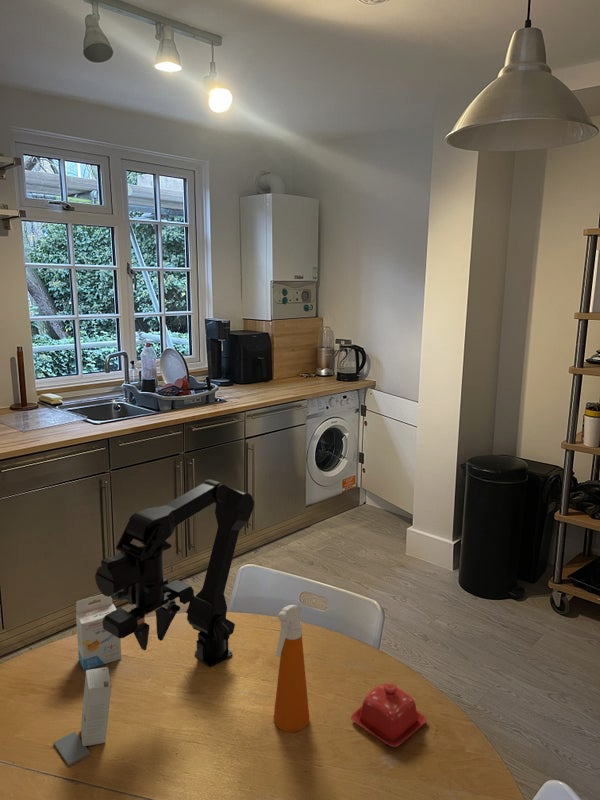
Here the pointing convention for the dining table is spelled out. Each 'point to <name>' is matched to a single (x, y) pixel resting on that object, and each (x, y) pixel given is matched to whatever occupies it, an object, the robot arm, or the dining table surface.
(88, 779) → the dining table surface
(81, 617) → the ink box
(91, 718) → the skincare box
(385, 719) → the butter dish
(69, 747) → the flat gray block
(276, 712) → the spray bottle
